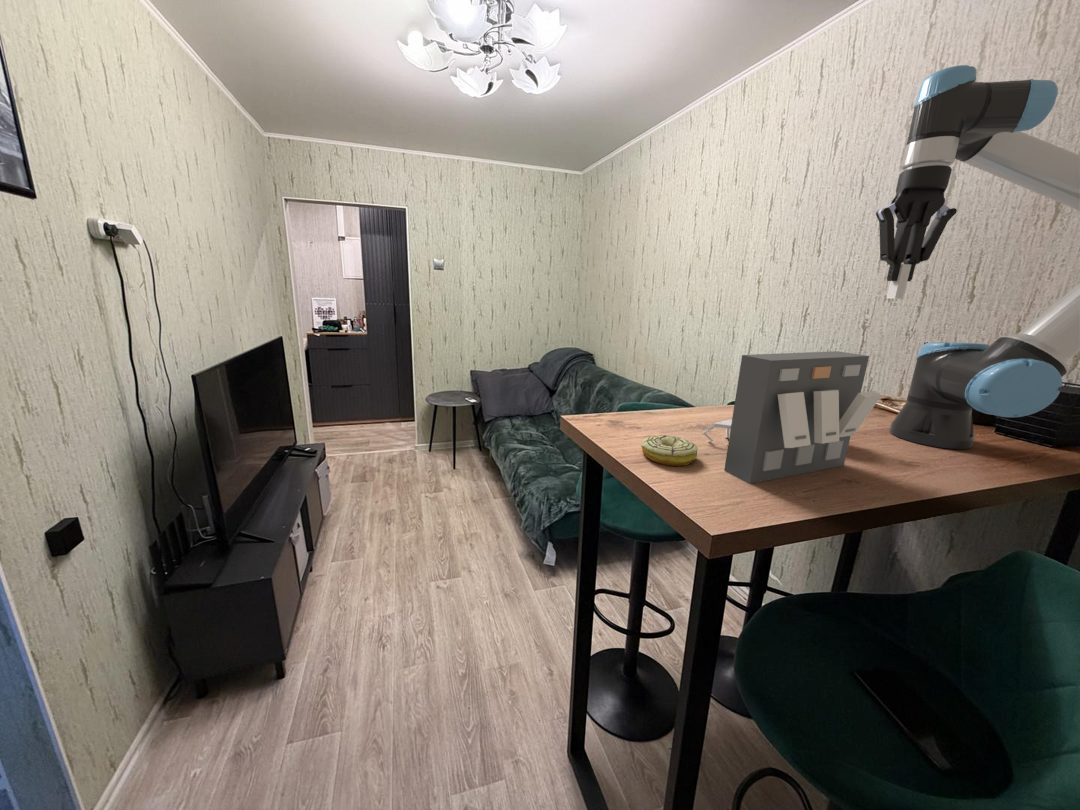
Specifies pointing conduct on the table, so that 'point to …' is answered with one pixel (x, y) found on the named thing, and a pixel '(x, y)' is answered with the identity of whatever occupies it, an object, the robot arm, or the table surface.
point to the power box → (758, 413)
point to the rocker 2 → (857, 412)
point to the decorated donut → (669, 450)
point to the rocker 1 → (794, 420)
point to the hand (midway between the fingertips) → (894, 298)
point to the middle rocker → (826, 416)
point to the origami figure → (721, 424)
